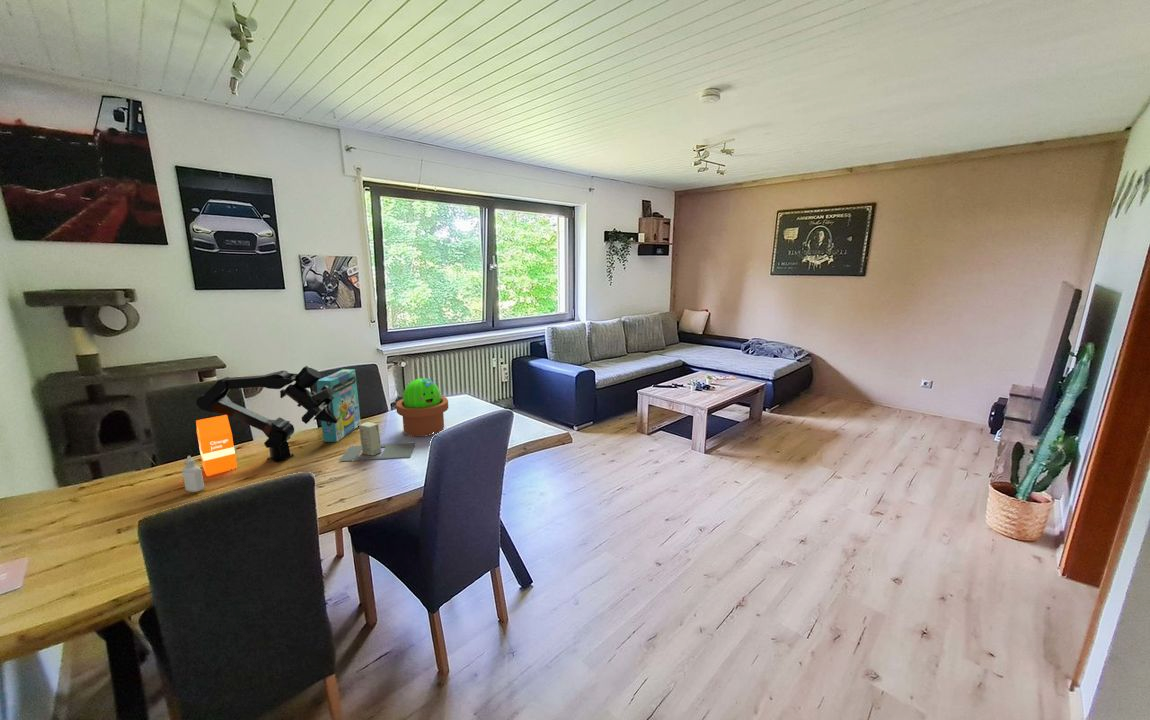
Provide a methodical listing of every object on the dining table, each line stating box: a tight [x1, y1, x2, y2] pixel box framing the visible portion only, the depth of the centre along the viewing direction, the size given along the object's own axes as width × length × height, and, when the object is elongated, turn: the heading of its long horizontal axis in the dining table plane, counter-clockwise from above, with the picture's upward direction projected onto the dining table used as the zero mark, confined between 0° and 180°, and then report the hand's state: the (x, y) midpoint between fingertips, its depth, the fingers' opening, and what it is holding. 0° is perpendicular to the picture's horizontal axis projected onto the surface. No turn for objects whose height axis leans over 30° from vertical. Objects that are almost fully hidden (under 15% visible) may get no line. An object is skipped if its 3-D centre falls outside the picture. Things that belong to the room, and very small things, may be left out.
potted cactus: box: [395, 377, 449, 437], centre depth 196 cm, size 22×22×25 cm
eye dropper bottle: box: [181, 455, 205, 493], centre depth 143 cm, size 4×6×12 cm
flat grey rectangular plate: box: [338, 442, 417, 462], centre depth 175 cm, size 26×14×1 cm, turn 101°
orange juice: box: [195, 414, 238, 477], centre depth 156 cm, size 8×9×20 cm
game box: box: [315, 368, 362, 443], centre depth 190 cm, size 20×6×27 cm, turn 179°
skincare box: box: [358, 421, 382, 456], centre depth 173 cm, size 6×4×12 cm
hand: (336, 422), depth 169 cm, fingers closed
